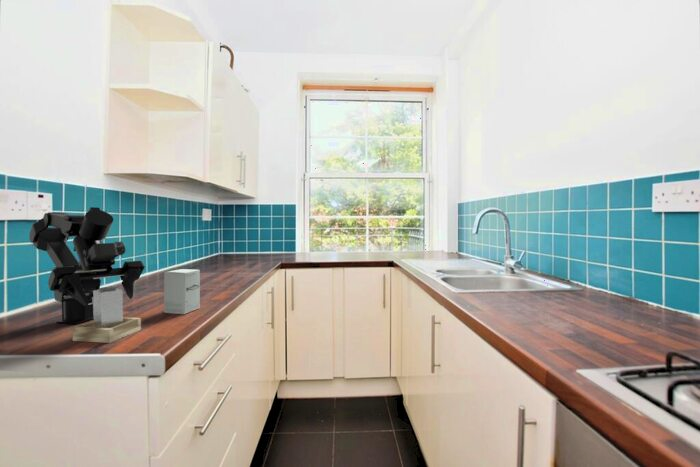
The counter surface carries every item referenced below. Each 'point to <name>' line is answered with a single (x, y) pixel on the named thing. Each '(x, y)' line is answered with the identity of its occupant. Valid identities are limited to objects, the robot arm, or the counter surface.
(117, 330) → the cream square holder
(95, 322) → the socket block
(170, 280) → the supplement box
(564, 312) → the counter surface
